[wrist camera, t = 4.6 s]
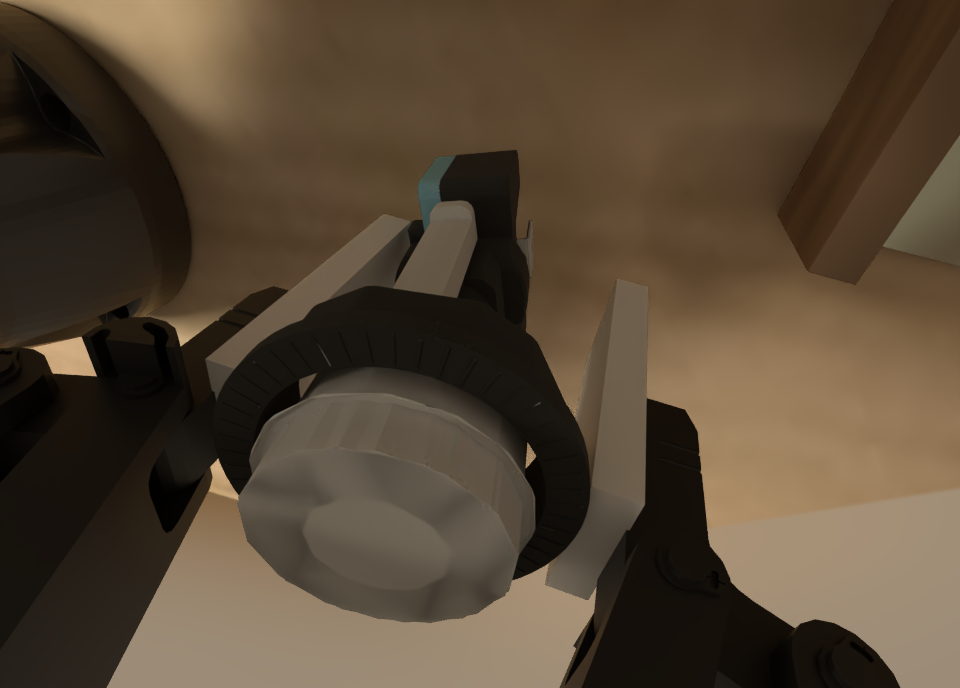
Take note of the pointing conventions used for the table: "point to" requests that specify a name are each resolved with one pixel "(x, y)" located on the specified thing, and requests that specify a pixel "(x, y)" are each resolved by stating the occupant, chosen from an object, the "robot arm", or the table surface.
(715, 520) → the table surface
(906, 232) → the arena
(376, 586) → the push button
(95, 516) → the robot arm
